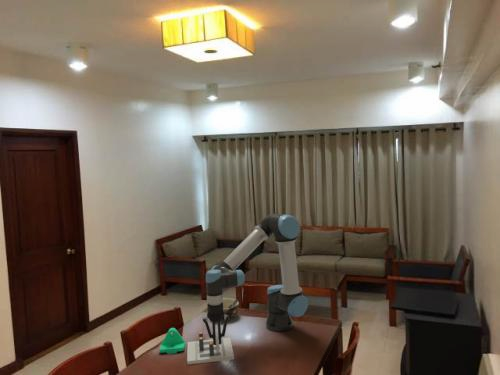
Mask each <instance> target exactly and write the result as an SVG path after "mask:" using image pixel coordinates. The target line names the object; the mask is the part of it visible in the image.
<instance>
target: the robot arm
mask: <svg viewBox="0 0 500 375" xmlns="http://www.w3.org/2000/svg"><path fill="white" fill-rule="evenodd" d="M300 224H301V223H300V221H299V220H298V219H297V218H296V217H295V216H293V215H290V214H284V213H277V212H274V213H270V214H268V215H266V216H265V217H264V218H262V219H261V220H260V221H259V222H258V223H257V224H255V226H254V229H253V230H252V232H251V233H250V234H248V236H246V238H245V239H244V240H243V241H241V243H239V245H238V246H236V248H234V250H232V252H231V253H229V255H228V256H226V257H225V259H224V260H223V261H222V262H221V263H219V264H217V265H213V266H212V267H211V268H210V270H207V271H206V273H205V286H206V303H207V312H206V313H207V314H206V316H205V317H204V316H203V317H202V321H203V323H204V325H205V327H206V331H207V334H208V338H210V339H213V344H214V345H216V352H219V345H220V344H221V338H225V336H226V330H227V324H228V321H229V319H230V318H229V315H226V314H225V313H224V311H223V303H222V302H223V298H224V296H223V290H225V289H231V288H235V287H239V286H243V285H244V284H245V280H246V278H245V277H246V276H245V273H244V272H243V270H241V269H237V268H238V267H239V266H240V265H241V264H242V263H243V262H244V261H245V260H246V259H247V258H248V257H249V256H250V255H251V254H252V253H253V252H254V251H255V250H256V249H257V248H258V247H259V246H260V245H261V244H262V243H263V241H265V240H266V241H267V240H268V239H269V238H270V237H272V236H274V242H275V243H276V244H277V245H278V246H277V247H278V254H279V255H278V256H279V261H280V272H281V274H280V275H281V282H282V284H276V285H271V286H269V287H267V291H266V292H267V293H266V295H267V306H268V307H267V317H266V321H265V327H266V329H267V330H269V331H271V332H285V331H286V332H287V331H289V330H291V329H292V328H293V326H294V323H293V319H292V317H294V318H299V317H301V316H303V315H304V314H305V313H306V311H307V309H308V307H309V301H308V298H307V297H306V296H305V295H304V294H303V288H302V287H301V286H300V283H299V281H300V280H299V274H298V273H299V272H298V265H297V263H298V262H297V255H296V247H295V246H296V245H295V243H296V242H297V241H298V239H297V238H298V235H299V234H300V232H301V225H300ZM223 317H224V319H223ZM222 320H223V326H222V330H221V322H222ZM209 321H210V322H211V323H212V324H211V325H212V326H211V328H212V332H211V328H210V325H209V323H208V322H209ZM216 323H217V334H216ZM216 335H218V336H216Z"/></svg>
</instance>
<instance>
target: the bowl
mask: <svg viewBox="0 0 500 375" xmlns="http://www.w3.org/2000/svg"><path fill="white" fill-rule="evenodd" d="M222 303H223V311H224V313H225V314H226V315H229V319H230V318H233V317H235V316H237V315H238V314H239V312H240V310H239V304H240V302H239V300H238V299H237V298H236V299H235V298H232V297H231V298H230V297H223V302H222ZM234 311H235V312H234ZM222 320H225V319H224V317H223V319H222Z"/></svg>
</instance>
